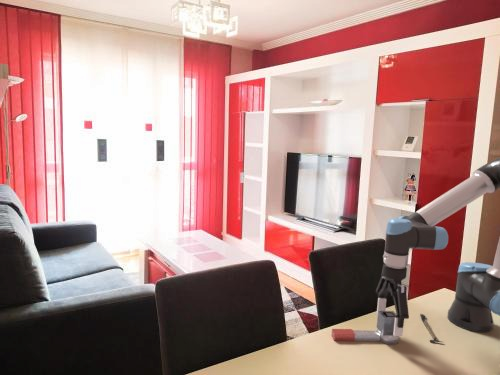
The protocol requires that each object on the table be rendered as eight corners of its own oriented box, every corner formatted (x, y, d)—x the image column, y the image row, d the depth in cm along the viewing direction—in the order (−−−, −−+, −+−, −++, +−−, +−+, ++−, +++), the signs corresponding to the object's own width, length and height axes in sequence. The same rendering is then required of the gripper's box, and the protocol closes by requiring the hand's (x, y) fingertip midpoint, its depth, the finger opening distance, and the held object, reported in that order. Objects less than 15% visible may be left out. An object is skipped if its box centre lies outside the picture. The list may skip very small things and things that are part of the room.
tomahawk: (451, 349, 125) (452, 346, 125) (430, 344, 127) (431, 341, 126) (436, 319, 145) (436, 316, 145) (418, 315, 147) (418, 313, 147)
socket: (391, 327, 130) (393, 311, 129) (398, 335, 125) (400, 318, 124) (376, 327, 130) (378, 310, 129) (382, 335, 124) (384, 318, 124)
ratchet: (392, 333, 131) (395, 310, 130) (401, 344, 124) (404, 319, 123) (329, 332, 130) (331, 308, 129) (335, 343, 123) (337, 318, 122)
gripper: (369, 253, 136) (364, 308, 139) (401, 278, 112) (394, 345, 114) (389, 253, 137) (384, 308, 140) (425, 279, 112) (417, 345, 115)
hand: (388, 325), depth 127 cm, fingers open, 13 cm apart
